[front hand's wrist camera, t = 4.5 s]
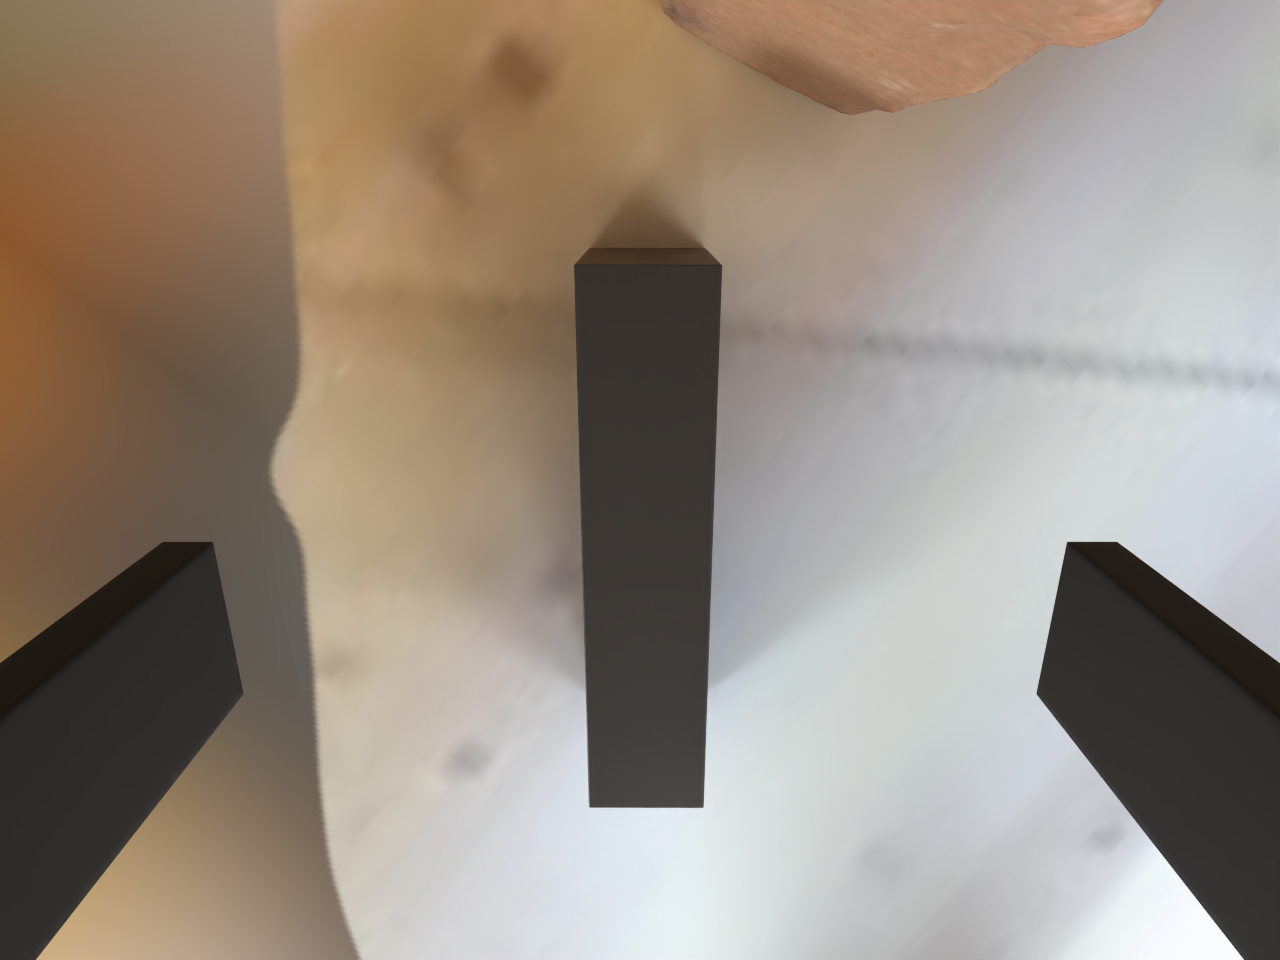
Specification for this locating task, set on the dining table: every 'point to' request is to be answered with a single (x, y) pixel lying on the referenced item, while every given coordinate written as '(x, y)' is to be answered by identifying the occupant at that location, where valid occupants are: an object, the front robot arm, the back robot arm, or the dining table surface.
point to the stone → (897, 42)
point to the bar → (647, 516)
